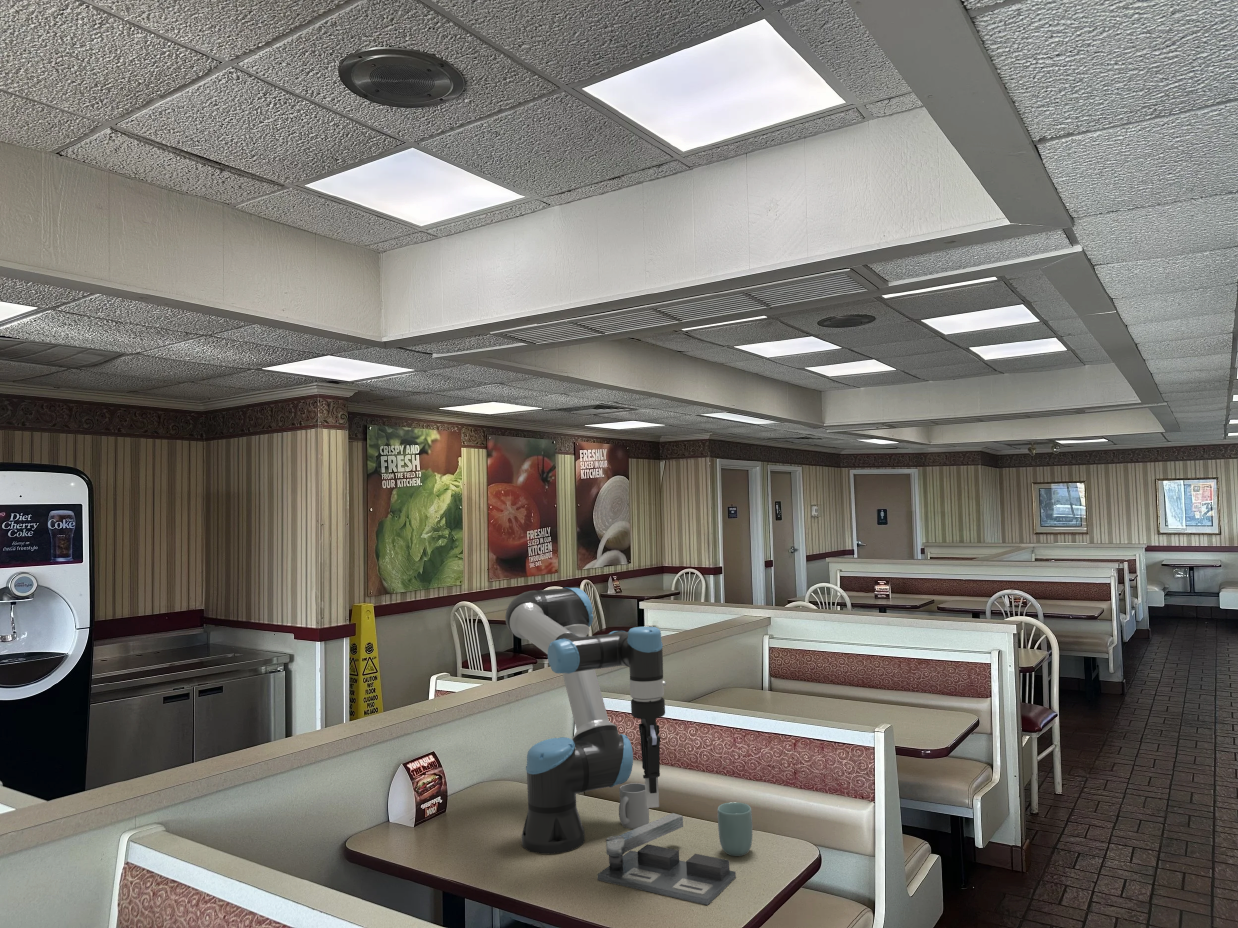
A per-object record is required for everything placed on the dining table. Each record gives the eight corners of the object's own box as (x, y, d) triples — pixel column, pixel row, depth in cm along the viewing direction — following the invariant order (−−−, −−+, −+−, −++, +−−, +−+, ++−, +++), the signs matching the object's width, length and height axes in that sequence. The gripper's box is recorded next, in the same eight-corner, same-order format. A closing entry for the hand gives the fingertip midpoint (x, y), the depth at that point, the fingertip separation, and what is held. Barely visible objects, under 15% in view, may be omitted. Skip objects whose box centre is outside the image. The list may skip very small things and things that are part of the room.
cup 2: (752, 860, 186) (750, 814, 187) (717, 858, 188) (715, 813, 188) (754, 846, 194) (752, 802, 194) (720, 844, 195) (718, 801, 196)
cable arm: (615, 857, 180) (614, 844, 180) (602, 852, 182) (602, 839, 183) (684, 827, 195) (684, 814, 195) (672, 822, 198) (671, 810, 198)
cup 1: (654, 821, 212) (653, 785, 212) (633, 835, 203) (631, 797, 204) (630, 816, 216) (629, 781, 216) (608, 829, 207) (607, 793, 208)
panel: (597, 879, 179) (596, 859, 180) (630, 855, 191) (629, 836, 192) (707, 905, 166) (706, 883, 166) (735, 877, 178) (734, 857, 178)
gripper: (670, 702, 180) (675, 814, 179) (658, 690, 193) (663, 795, 191) (635, 705, 179) (641, 818, 177) (626, 693, 192) (631, 798, 190)
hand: (652, 806), depth 184 cm, fingers closed
